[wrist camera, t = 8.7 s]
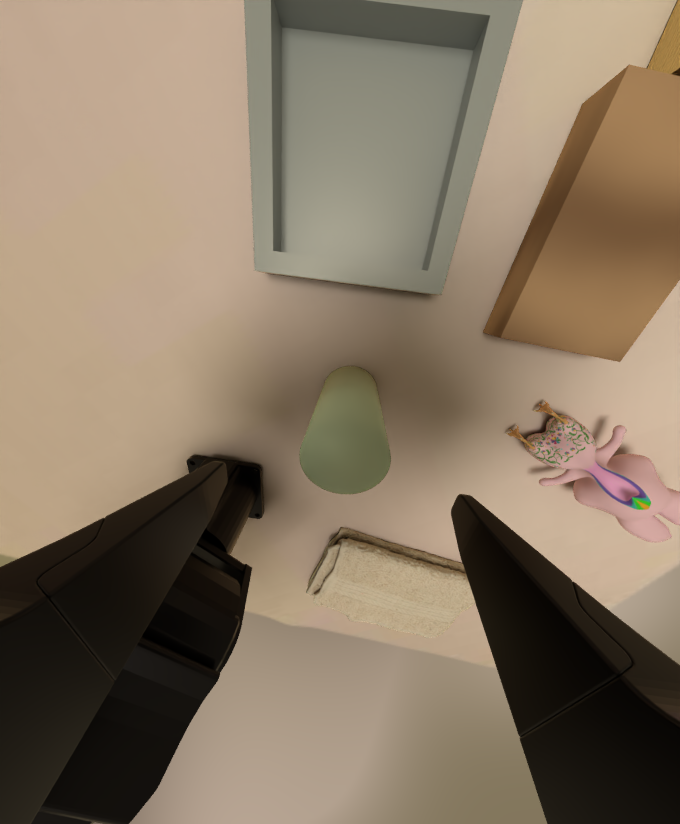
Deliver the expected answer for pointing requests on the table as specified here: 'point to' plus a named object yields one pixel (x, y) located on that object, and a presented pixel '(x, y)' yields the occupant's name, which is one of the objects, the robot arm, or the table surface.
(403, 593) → the washcloth
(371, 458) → the pale green rounded cylinder
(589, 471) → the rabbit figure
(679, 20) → the wooden block
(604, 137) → the brown flat block
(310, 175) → the tray
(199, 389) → the table surface
